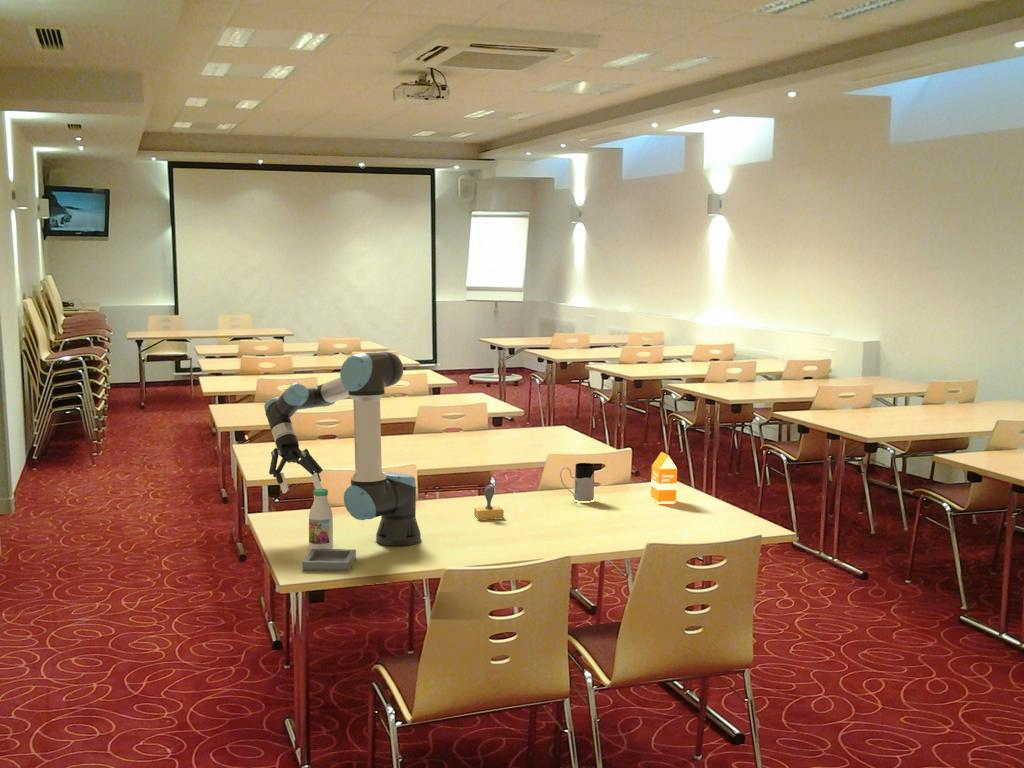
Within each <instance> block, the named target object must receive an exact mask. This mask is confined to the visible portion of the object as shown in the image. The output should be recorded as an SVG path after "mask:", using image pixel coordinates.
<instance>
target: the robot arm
mask: <svg viewBox="0 0 1024 768" xmlns="http://www.w3.org/2000/svg"><path fill="white" fill-rule="evenodd" d="M345 359H346V360H344V361H343V363H342V365H341V367H340V374H339V375H340V376H339V377H337V378H335V379H332V380H329V381H327V382H325V383H322V384H319V385H314V386H308V387H307V386H305V385H303V384H302V383H298V382H295V383H291V385H290V386H288V387H287V388H286V389H285V390H284V391H283V392H282V394H281V395H280V396H279V397H278V396H277V397H276V396H275V397H272V398H270V399H269V400H268V399H267V401H265V403H264V406H263V407H264V412H265V416H266V418H267V422H268V425H269V427H270V430H271V434H272V437H273V440H274V442H275V444H274V445H275V446H276V447H275V448H274V449H273V450H272V451H271V452H270V454H271V460H270V465H269V472H268V473H269V474H268V475H272V477H273V478H276V481H277V483H278V484H279V487H280V488H281V492H282V494H286V493H287V491H289V486H288V483H287V481H286V477H285V474H284V472H282V470H283V469H284V467H285V465H286V463H288V464H289V463H293V464H294V463H295V464H297V465H300V466H301V467H303V469H305V471H307V472H308V473H309V474H311V480H312V481H311V482H312V483H313V486H314V490H315V489H323V487H322V483H321V481H322V480H321V476H320V474H321V473H322V472H323V468H322V467H321V465H320V464H319V463H318V462H317V461H316V460H315V458H314V457H313V456H312V455H311V453H310V451H309V450H308V449H307V448H305V449H304V450H303V449H302V450H301V449H300V445H299V441H298V437H297V435H296V431H295V429H294V425H293V421H292V420H291V417H292V416H294V414H296V412H297V411H299V410H305V409H313V408H321V407H324V408H325V407H330V406H332V405H334V404H335V403H336V402H338V401H340V400H344V399H347V398H350V399H352V400H353V402H352V403H353V433H354V436H353V439H354V440H353V441H354V468H355V469H354V474H352V476H351V477H350V486H349V487H346V489H345V491H344V494H343V503H344V506H345V509H346V511H347V512H348V513H349V515H350V516H351V517H352V518H354V519H355V520H358V521H366V520H373V519H374V518H378V517H380V522H379V523H378V526H377V530H376V533H375V541H376V542H377V543H378V544H380V545H383V546H390V547H402V546H403V547H405V546H406V547H407V546H410V545H411V546H412V545H416V544H418V543H420V541H421V536H422V535H421V530H420V527H419V525H418V521H417V518H416V511H417V510H416V507H417V506H416V505H417V504H416V503H417V502H416V501H417V500H416V499H417V485H416V484H417V483H416V478H415V476H414V475H412V474H409V473H403V472H383V471H382V469H383V468H382V464H383V463H382V434H381V433H382V427H381V426H382V424H381V399H382V398H383V397H384V396H385V393H386V392H385V389H386V388H387V387H391V386H394V385H396V384H397V383H399V382H400V380H401V379H402V378H403V375H404V365H403V362H402V359H401V358H400V357H399V356H397V355H396V354H395V353H393V352H389V351H380V352H379V351H378V352H362V353H361V352H360V353H356V354H352V355H350V356H348V357H347V358H345ZM279 456H280V457H281V460H280V462H279V465H278V459H279ZM277 465H278V466H277ZM415 543H416V544H415Z"/></svg>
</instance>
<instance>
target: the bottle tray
mask: <svg viewBox="0 0 1024 768" xmlns="http://www.w3.org/2000/svg"><path fill="white" fill-rule="evenodd" d="M356 558H357V550H356V549H353V548H352V549H349V548H345V549H344V548H343V549H342V548H341V549H339V548H332V549H312V550H309V552H308V554H307V555H306V557H305V558H304V559H303V561H302V562H301V563H302V565H301V566H302V568H301V569H302V571H303V570H304V571H303V572H337V571H350V570H351V568H352V567H353V564H354V563H353V562H355V561H356ZM349 569H350V570H349Z"/></svg>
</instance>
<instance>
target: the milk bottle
mask: <svg viewBox="0 0 1024 768" xmlns="http://www.w3.org/2000/svg"><path fill="white" fill-rule="evenodd" d="M328 493H329V491H328V489H327V488H322V489H315V488H314V490H313V498H314V499H313V503H312V505H311V508H310V510H309V513H308V549H309V551H311V550H312V549H334V548H333V547H334V524H333V523H334V522H333V511H332V508H331V505H330V503H329V500H328V496H329V494H328Z"/></svg>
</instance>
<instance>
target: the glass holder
mask: <svg viewBox="0 0 1024 768" xmlns="http://www.w3.org/2000/svg"><path fill="white" fill-rule="evenodd" d="M565 469H567V470H568V471H569V473H570V474H569V475H570V478H572V479H574V492H573V491H572V490H571V489H569V488H568V487H567V485H566V484H565V483H564V481H563V478H562V472H563V470H565ZM574 471H575V473H574V474H575V475H574V477H573V475H572V471H571V469H570V468H569V467H566V466H565V467H562V468H561V470H560V473H559V476H560V481H561V483H562V485H563V487H564V488H565V489H567V490H568V491H569V492H570V493H572V495H573V500H574V499H575V500H578V501H591V500H593V499H594V500H595V497H594V496H595V464H594V463H590V462H579V463H576V464H575V470H574Z"/></svg>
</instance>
